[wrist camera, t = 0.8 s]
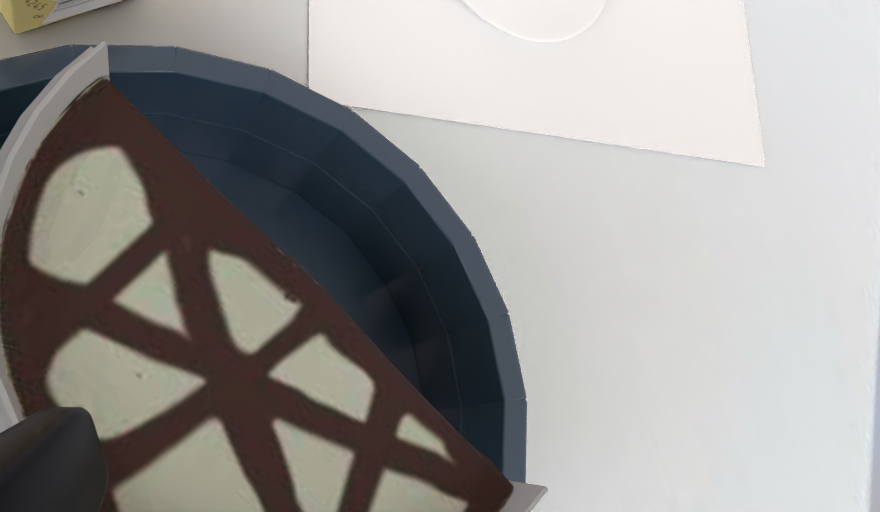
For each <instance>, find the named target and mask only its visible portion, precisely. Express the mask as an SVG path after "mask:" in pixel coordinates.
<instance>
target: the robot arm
mask: <svg viewBox="0 0 880 512" xmlns="http://www.w3.org/2000/svg"><path fill="white" fill-rule="evenodd" d="M107 485H108V467H107V463H106V460H105V457H104V453H103V450H102V447H101V444H100V441H99V437H98V434H97V431H96V428H95V425H94V421H93V419H92V416H91V414H90V413H89V412H88V411H87V410H86V409H84V408H82V407H48V408H44V409H42V410H40V411H38V412H36V413H34V414H33V415H31V416H29V417H27V418H26V419H24V420H22V421H20V422H19V423H17V424H15V425H13V426H12V427H10V428H8V429H6V430H5V431H3V432H1V433H0V512H99V511H100V508H101V505H102V502H103V499H104V496H105V493H106V490H107Z"/></svg>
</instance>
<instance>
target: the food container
mask: <svg viewBox="0 0 880 512" xmlns="http://www.w3.org/2000/svg"><path fill="white" fill-rule="evenodd" d="M48 407H82V408H84V409H86V410H87V411H88V412H89V413H90V414H91V416H92V419H93V421H94V425H95V428H96V431H97V434H98V437H99V441H100V444H101V447H102V450H103V453H104V457H105V460H106V463H107V467H108V485H107V490H106V493H105V496H104V499H103V502H102V505H101V508H100V511H99V512H530V511H531V510H532V509H533V508H534V506H535V505H536V504H537V503H538V501H539V500H540V499H541V498H542V497H543V495H544V494H545V493H546V492H547V490H548V489H547V488H546V487H545V486H539V485H533V484H527V483H521V482H515V481H509V480H508V479H507V478H506V477H505V476H504V475H503V474H502V473H501V472H499V470H498V469H497V468H496V467H495V465H494V464H493V463H492V461H491V460H490V459H489V458H488V457H486V456H485V455H484V454H482V453H481V452H479V451H478V450H477V449H476V448H475V447H473V446H472V445H471V444H470V443H469V442H468V441H467V440H466V439H465V438H464V437H463V436H462V435H461V434H460V433H458V432H457V431H456V430H455V428H454V427H453V426H452V425H451V424H450V423H449V422H448V421H447V420H446V419H445V418H444V417H443V416H442V415H441V414H440V413H439V412H438V411H437V410H436V409H435V408H434V407H433V406H432V405H431V404H430V403H429V402H428V401H427V400H426V399H425V398H424V397H423V396H422V395H421V394H420V393H419V392H418V390H417V389H416V388H415V387H414V386H413V385H412V384H411V383H410V382H409V381H408V380H407V379H406V378H405V377H404V376H403V375H402V373H401V372H400V371H399V370H398V369H397V368H396V367H395V366H394V365H393V364H392V363H391V362H390V361H389V360H388V359H387V358H386V356H385V355H384V354H383V353H382V352H381V351H380V350H379V349H378V348H377V346H376V345H375V344H374V343H373V342H372V341H371V340H370V339H369V337H368V336H367V335H366V334H365V333H364V332H363V331H362V330H361V328H360V327H359V326H358V325H357V324H356V323H355V322H354V321H353V320H352V319H351V317H350V316H349V315H348V314H347V313H346V312H345V311H344V310H343V309H342V308H341V307H340V305H339V304H338V303H337V302H336V301H335V300H334V299H333V298H332V297H331V295H330V294H329V293H328V292H327V291H326V290H325V289H324V288H323V287H322V286H321V285H320V284H319V283H318V282H317V281H316V280H314V279H313V278H312V277H311V276H310V275H309V274H308V273H307V272H306V271H305V270H304V269H303V268H301V267H300V266H299V265H298V264H297V263H296V262H295V261H294V260H293V259H292V258H291V257H290V256H288V255H287V254H286V253H285V252H284V251H283V250H282V249H281V248H279V247H278V246H277V245H276V244H275V243H274V242H273V241H272V240H271V239H269V238H268V237H267V236H266V235H265V234H264V233H263V232H262V231H261V230H260V229H259V228H258V227H257V226H256V225H255V224H254V223H253V222H251V221H250V220H249V219H248V218H247V217H246V216H245V215H244V214H243V213H242V212H241V211H240V210H239V209H238V208H237V207H236V206H235V205H234V204H232V203H231V202H230V201H229V200H228V199H227V198H226V197H225V196H224V195H223V194H222V193H221V192H220V191H219V190H218V189H217V188H216V187H215V186H214V185H213V184H212V183H211V182H210V181H209V180H208V179H207V178H206V177H205V176H204V175H203V174H202V173H201V172H200V171H199V170H198V169H197V168H196V167H195V166H194V165H193V164H192V163H191V162H190V161H189V160H188V159H187V158H186V157H185V156H184V155H183V154H182V153H181V152H180V151H179V150H178V149H177V148H176V147H175V146H174V145H173V144H172V143H171V142H170V141H169V140H168V139H167V138H166V137H165V136H164V135H163V134H162V133H161V132H160V131H159V130H158V129H157V128H156V127H155V126H154V125H153V124H152V123H151V122H150V121H149V120H148V119H147V118H146V117H145V116H144V115H143V114H142V113H141V112H140V111H139V110H138V109H137V108H136V107H135V106H134V105H133V104H132V103H131V102H130V101H129V100H128V99H127V98H126V97H125V96H124V95H123V94H122V93H121V92H120V91H119V90H118V89H117V88H116V87H115V86H114V85H113V84H112V83H111V82H110V78H109V63H108V47H107V43H106V42H105V41H104V40H103V41H102V42H101V43H100V44H98V45H97V46H96V47H95V48H93V47H92V46H91V47H89V48H88V49H87V50H86V51H85V52H83V53H82V54H81V55H80V56H79V57H77V58H76V59H75V60H74V61H72V62H71V63H70V64H69V65H68V66H66V67H65V68H64V69H63V70H62V71H60V72H59V73H58V74H57V75H56V76H54V78H53V79H52V80H51V81H50V82H49V83H48V85H47V86H46V87H45V88H44V89H43V90H42V91H41V93H40V94H39V95H38V96H37V97H36V98H35V100H34V101H33V102H32V103H31V104H30V105H29V107H28V108H27V109H26V110H25V111H24V112H23V113H22V115H21V116H20V117H19V119H18V121H17V123H16V124H15V126H14V128H13V129H12V131H11V133H10V134H9V136H8V138H7V139H6V141H5V143H4V145H3V146H2V148H1V150H0V433H1V432H3V431H5V430H6V429H8V428H10V427H12V426H13V425H15V424H17V423H19V422H20V421H22V420H24V419H26V418H27V417H29V416H31V415H33V414H34V413H36V412H38V411H40V410H42V409H44V408H48Z"/></svg>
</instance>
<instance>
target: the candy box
mask: <svg viewBox="0 0 880 512" xmlns="http://www.w3.org/2000/svg"><path fill="white" fill-rule="evenodd" d="M120 1H123V0H0V12H1V13H2V15H3V17H4V18H5V20H6V21H7V23H8V25H9V26H10V28H11V29H12V31H13V32H14V33H16V34H20V33H23V32H26V31H29V30H32V29H35V28H38V27H41V26H44V25H47V24H50V23H53V22H56V21H59V20H63V19H66V18H69V17H72V16H75V15H78V14H81V13H84V12H87V11H90V10H93V9H96V8H100V7H103V6H107V5H110V4H114V3H117V2H120Z"/></svg>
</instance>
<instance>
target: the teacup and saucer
mask: <svg viewBox="0 0 880 512" xmlns="http://www.w3.org/2000/svg"><path fill="white" fill-rule="evenodd" d="M461 1H462V2H463V3H464V4H465V5H466V6H467V7H468V8H469V9H470V10H471V11H472V12H474V13H475V14H476V15H477V16H478V17H479V18H481V19H482V20H483V21H485V22H486V23H488V24H489V25H491V26H492V27H494V28H496V29H497V30H499V31H501V32H503V33H505V34H507V35H510V36H512V37H515V38H518V39H521V40H525V41H529V42H535V43H557V42H562V41H566V40H569V39H572V38H574V37H576V36H578V35H580V34H582V33H583V32H585V31H586V30H587V29H588V28H589V27H591V26H592V25H593V23H594V22H595V21H596V20H597V19H598V17H599V16H600V14H601V13H602V11H603V9H604V7H605V4H606V2H607V0H461Z"/></svg>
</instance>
